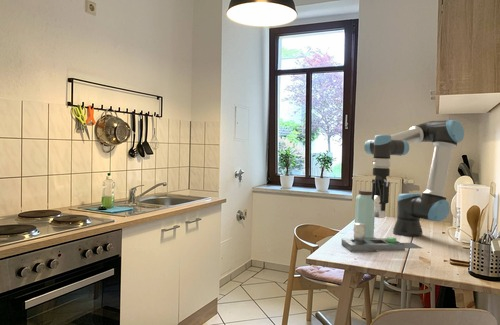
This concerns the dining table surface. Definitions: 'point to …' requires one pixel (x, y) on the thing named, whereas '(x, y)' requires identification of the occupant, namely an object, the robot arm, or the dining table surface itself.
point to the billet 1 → (359, 233)
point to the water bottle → (365, 211)
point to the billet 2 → (376, 205)
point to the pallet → (371, 245)
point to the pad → (411, 245)
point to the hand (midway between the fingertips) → (379, 216)
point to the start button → (391, 240)
